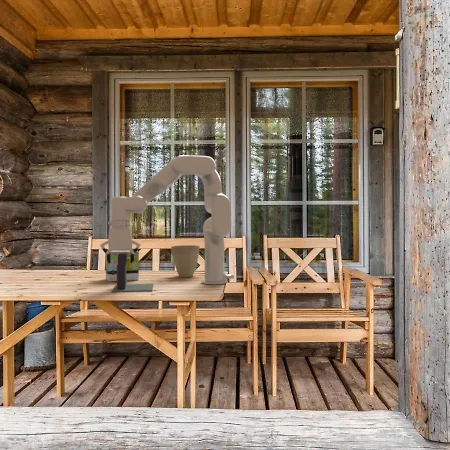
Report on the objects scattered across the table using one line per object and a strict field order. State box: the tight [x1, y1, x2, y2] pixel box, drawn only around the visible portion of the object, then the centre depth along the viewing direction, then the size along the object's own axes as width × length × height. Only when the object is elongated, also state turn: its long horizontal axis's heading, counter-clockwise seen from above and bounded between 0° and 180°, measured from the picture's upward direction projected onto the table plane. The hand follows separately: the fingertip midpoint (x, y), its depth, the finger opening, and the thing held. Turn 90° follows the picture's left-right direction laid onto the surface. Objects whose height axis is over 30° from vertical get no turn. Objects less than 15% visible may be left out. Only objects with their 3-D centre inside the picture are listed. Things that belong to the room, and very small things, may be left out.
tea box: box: [105, 250, 140, 282], centre depth 222 cm, size 15×10×15 cm, turn 112°
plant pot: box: [171, 244, 201, 278], centre depth 233 cm, size 15×15×16 cm
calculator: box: [116, 253, 127, 289], centre depth 196 cm, size 11×4×15 cm, turn 9°
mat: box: [111, 283, 154, 293], centre depth 197 cm, size 17×16×1 cm
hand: (120, 263), depth 196 cm, fingers open, 9 cm apart
